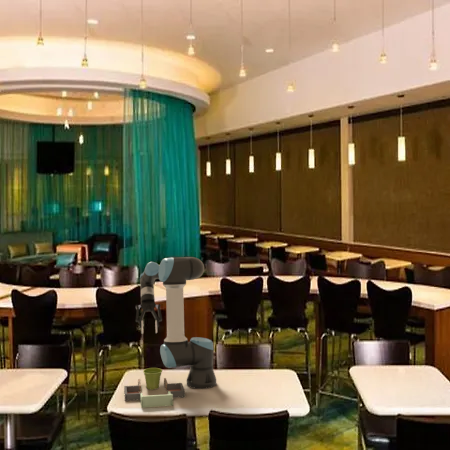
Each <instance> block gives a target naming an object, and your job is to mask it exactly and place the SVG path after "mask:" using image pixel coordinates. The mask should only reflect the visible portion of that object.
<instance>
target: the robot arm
mask: <svg viewBox="0 0 450 450" xmlns="http://www.w3.org/2000/svg"><path fill="white" fill-rule="evenodd" d="M204 272H205V265H204V262H202V260H201V259H199V258H197V257H194V256H183V257H182V256H181V257H165V258H162V260H161V261H160V264H158V263H157V262H154V261H150V262H148V263H146V265H145V268H144V271H143V272H142V273H140V275H139V276H140V277H139V284H140V286H139V287H140V304H135V310H136V313H135V323H138V325H139V326H138V328H139V329H140V330H141V334H142V335H143V334H144V321H143V319H144V317H145V314H146V313H147V312H151V314H152V316H153V318H154V320H155V322H154V324H155V325H154V327H155V328H154V329H155V334H157V333H158V328H160V322H162V321H163V316H162V310H161V304H160V303H158V304H156V302H155V301H156V300H155V287H154V286H155V281H156V280H159V281H160V283H161V282H162V286H163V287H164V288H165V294H166V295H165V299H166V301H165V302H166V305H165V306H166V337H165V338H164V339H163V344H161V345H160V349H159V353H160V357H161V360H162V363H163V365H164V367H165V368H168V369H171V368H174V369H177V368H180V367H189V366H190V367H189V372H188V374H187V378H186V386H188V387H189V388H192V389H200V390H201V389H202V390H203V389H211V388H214V387H216V385H217V378H216V375H215V370H214V343H213V341H212V339H209V338H206V337H201V336H200V337H197V336H195V337H194V336H193V337H191V338H190V340H189V341H188V337H186V336H185V310H184V309H185V306H184V304H185V301H184V300H185V299H184V297H185V296H184V288H185V286H187V281H193V280H197V279H199V278H200V277H202V276H203V274H204ZM155 308H156V309H157V313H156V311H155ZM140 309H142V312H141V314H139V313H140ZM139 315H140V317H139Z"/></svg>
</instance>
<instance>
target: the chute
mask: <svg viewBox="0 0 450 450" xmlns="http://www.w3.org/2000/svg"><path fill="white" fill-rule="evenodd" d="M167 384H169V383H168V380H167V378H166V377H163V386H164V388H165V391H168V390H167ZM137 385H140V386H139V393H142V382H141V379H137Z"/></svg>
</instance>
